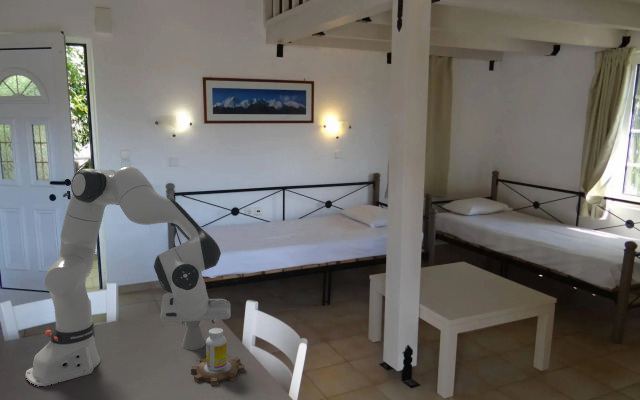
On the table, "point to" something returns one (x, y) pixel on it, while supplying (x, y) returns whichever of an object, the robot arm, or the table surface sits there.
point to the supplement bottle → (216, 350)
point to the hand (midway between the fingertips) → (198, 322)
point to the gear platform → (220, 375)
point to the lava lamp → (193, 336)
